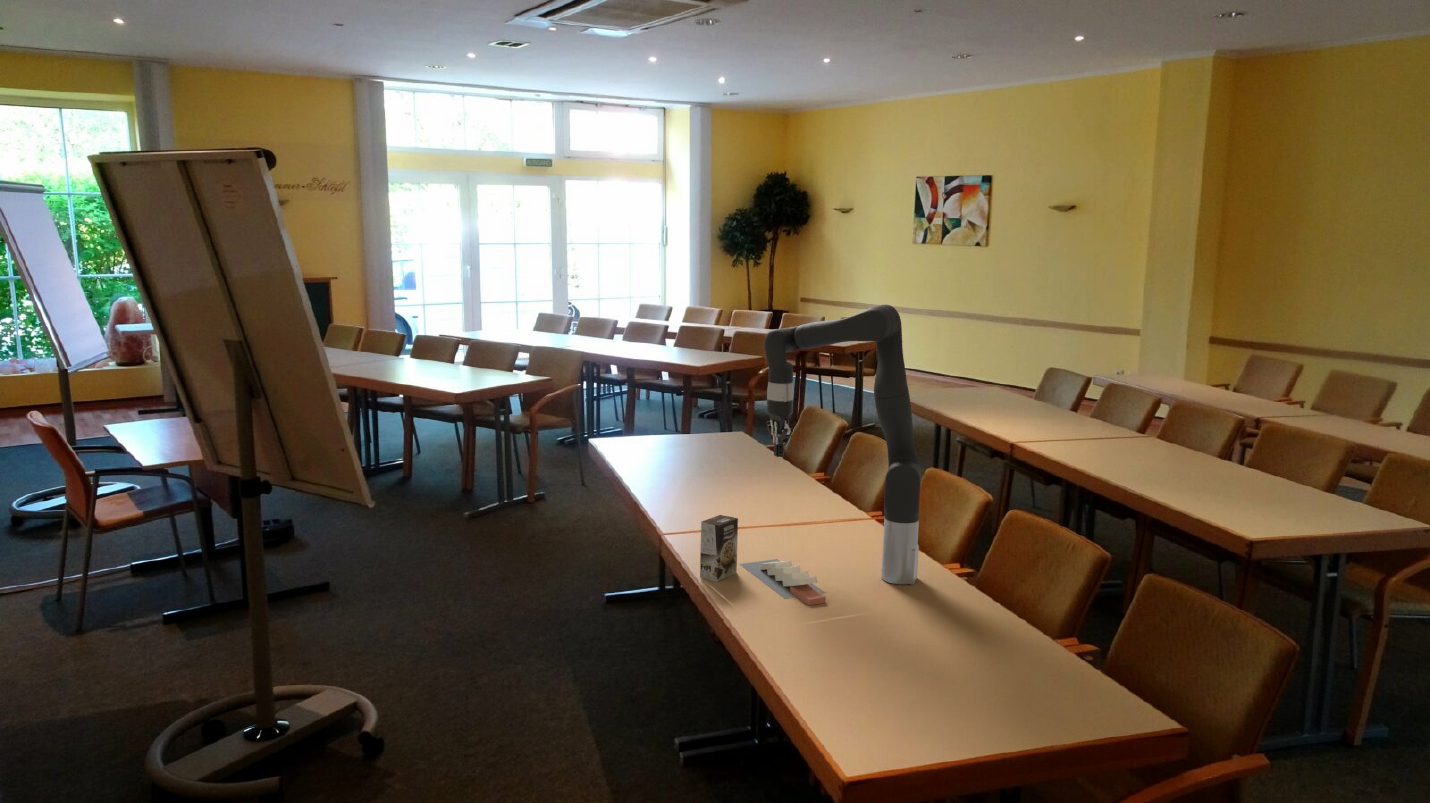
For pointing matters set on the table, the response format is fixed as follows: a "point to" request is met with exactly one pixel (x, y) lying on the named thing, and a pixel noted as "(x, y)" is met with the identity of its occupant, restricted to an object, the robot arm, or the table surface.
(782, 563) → the domino
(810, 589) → the domino
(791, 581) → the domino
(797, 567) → the domino
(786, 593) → the mat
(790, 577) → the domino
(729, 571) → the coffee box
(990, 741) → the table surface
